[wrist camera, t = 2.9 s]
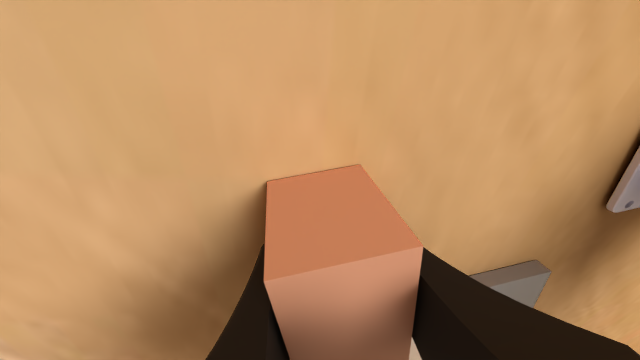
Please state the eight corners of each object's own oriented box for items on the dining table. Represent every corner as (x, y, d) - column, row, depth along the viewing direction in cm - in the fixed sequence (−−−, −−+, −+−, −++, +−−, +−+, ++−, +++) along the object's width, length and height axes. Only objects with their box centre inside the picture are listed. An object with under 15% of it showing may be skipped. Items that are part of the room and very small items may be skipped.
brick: (360, 164, 10) (423, 246, 6) (363, 262, 13) (408, 364, 9) (267, 181, 10) (263, 281, 6) (291, 278, 13) (301, 393, 9)
